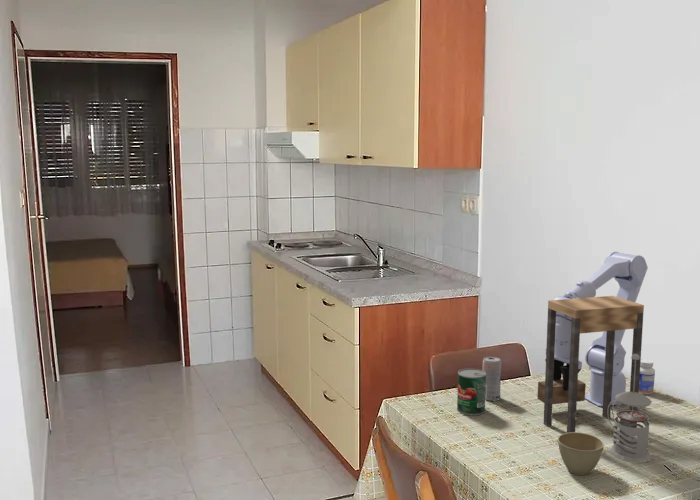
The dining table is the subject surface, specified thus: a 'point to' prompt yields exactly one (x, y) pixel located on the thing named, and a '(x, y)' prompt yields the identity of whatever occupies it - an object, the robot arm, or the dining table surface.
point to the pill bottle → (646, 377)
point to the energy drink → (492, 377)
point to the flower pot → (580, 451)
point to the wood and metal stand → (588, 319)
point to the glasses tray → (561, 392)
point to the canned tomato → (471, 391)
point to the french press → (628, 446)
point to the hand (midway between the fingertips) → (561, 386)
